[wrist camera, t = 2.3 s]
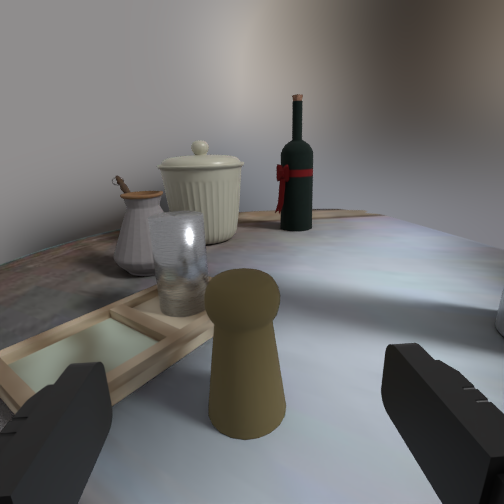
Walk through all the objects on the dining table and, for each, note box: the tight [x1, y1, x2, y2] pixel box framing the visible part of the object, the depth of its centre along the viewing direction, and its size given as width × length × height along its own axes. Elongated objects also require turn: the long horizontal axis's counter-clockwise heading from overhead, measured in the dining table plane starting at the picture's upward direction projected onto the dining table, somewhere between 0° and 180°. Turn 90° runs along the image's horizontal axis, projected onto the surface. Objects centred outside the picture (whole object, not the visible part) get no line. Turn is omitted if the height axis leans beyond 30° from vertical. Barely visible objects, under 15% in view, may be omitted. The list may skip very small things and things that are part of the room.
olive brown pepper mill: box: [204, 268, 286, 440], centre depth 23 cm, size 6×6×11 cm
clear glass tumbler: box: [148, 211, 209, 317], centre depth 37 cm, size 6×6×11 cm
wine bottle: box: [275, 94, 313, 231], centre depth 74 cm, size 8×10×30 cm
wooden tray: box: [0, 276, 214, 415], centre depth 34 cm, size 25×12×2 cm, turn 144°
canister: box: [157, 140, 244, 244], centre depth 68 cm, size 18×18×21 cm
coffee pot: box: [112, 176, 164, 276], centre depth 56 cm, size 21×12×15 cm, turn 35°
